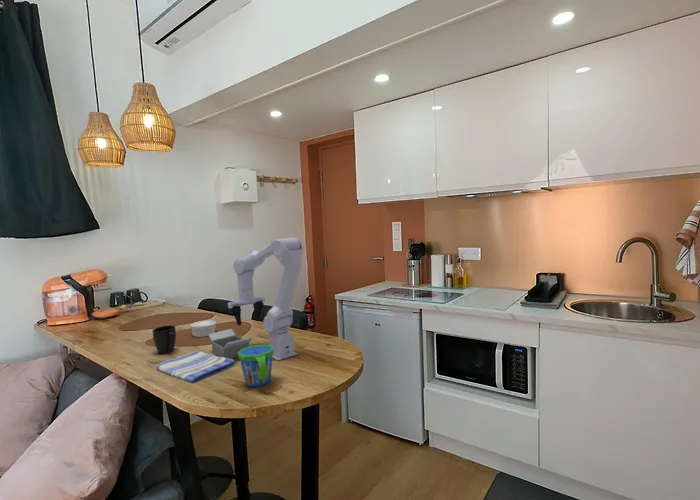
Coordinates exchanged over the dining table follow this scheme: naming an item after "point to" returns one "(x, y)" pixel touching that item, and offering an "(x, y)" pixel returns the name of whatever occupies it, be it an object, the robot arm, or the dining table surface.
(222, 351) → the carton
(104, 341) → the dining table surface
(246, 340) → the near flap
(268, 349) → the snack cup
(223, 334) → the far flap
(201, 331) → the ramekin
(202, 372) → the dish towel
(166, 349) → the mug
